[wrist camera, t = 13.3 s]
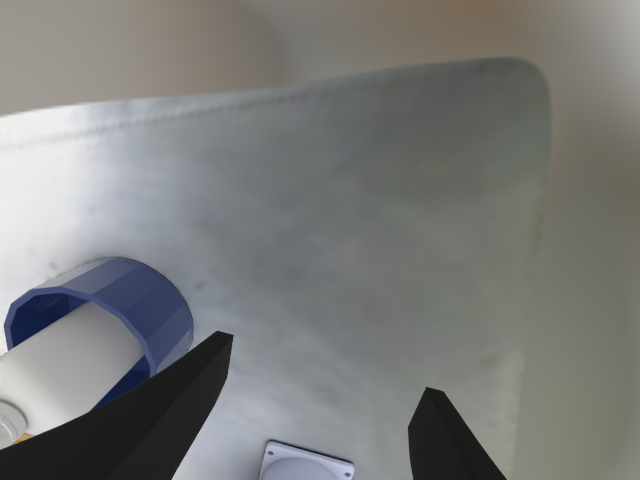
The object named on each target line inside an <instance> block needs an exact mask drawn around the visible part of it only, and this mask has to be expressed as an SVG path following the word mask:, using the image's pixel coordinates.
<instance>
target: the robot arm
mask: <svg viewBox="0 0 640 480" xmlns="http://www.w3.org/2000/svg"><path fill="white" fill-rule="evenodd" d="M232 342H233V335H231V334H228V333H224V332H220V331H216V332H215V333H213V334H212V335H211V336H209V337H208V338H207V339H205V340H204V341H203V342H201V343H200V344H199V345H197V346H196V347H195V348H193V349H192V350H191V351H189V352H188V353H187V354H185V355H184V356H182V357H181V358H179V359H178V360H177V361H175V362H174V363H172V364H171V365H169V366H168V367H166V368H165V369H163V370H162V371H160V372H159V373H157V374H156V375H154V376H152V377H151V378H149V379H148V380H146V381H144V382H143V383H141V384H140V385H138V386H136V387H134V388H133V389H131V390H129V391H128V392H126V393H124V394H122V395H120V396H119V397H117V398H115V399H113V400H111V401H109V402H107V403H106V404H104V405H102V406H100V407H98V408H96V409H93V410H91V411H89V412H87V413H85V414H83V415H81V416H79V417H77V418H75V419H73V420H71V421H69V422H66V423H64V424H62V425H60V426H57V427H55V428H53V429H50V430H48V431H45V432H43V433H41V434H38V435H36V436H34V437H31V438H29V439H26V440H24V441H21V442H19V443H16V444H14V445H11V446H8V447H6V448H3V449H1V450H0V480H171V479H172V478H173V476H174V474H175V472H176V470H177V468H178V467H179V465H180V463H181V462H182V460H183V458H184V457H185V455H186V453H187V451H188V450H189V448H190V446H191V445H192V443H193V441H194V440H195V438H196V436H197V434H198V433H199V431H200V429H201V428H202V426H203V424H204V423H205V421H206V419H207V417H208V416H209V414H210V412H211V410H212V409H213V407H214V405H215V403H216V401H217V399H218V397H219V395H220V392H221V390H222V388H223V386H224V383H225V381H226V379H227V375H228V368H229V362H230V355H231V349H232ZM408 437H409V453H410V462H411V468H412V474H413V480H507V479H506V478H505V477H504V475H503V474H502V473H501V471H500V470H499V469H498V468H497V466H496V465H495V464H494V462H493V461H492V460H491V458H490V457H489V456H488V454H487V453H486V451H485V450H484V449H483V447H482V446H481V445H480V443H479V442H478V440H477V439H476V438H475V436H474V435H473V433H472V432H471V430H470V429H469V428H468V426H467V425H466V423H465V422H464V420H463V419H462V417H461V416H460V415H459V413H458V412H457V410H456V409H455V407H454V406H453V404H452V403H451V401H450V400H449V399H448V397H447V396H446V394H445V393H444V392H443V391H440V390H436V389H432V388H429V387H426V389H425V391H424V393H423V395H422V398H421V400H420V402H419V404H418V406H417V408H416V411H415V413H414V415H413V417H412V419H411V422H410V424H409V426H408ZM353 474H354V465H353V464H351V463H348V462H344V461H341V460H337V459H334V458H330V457H326V456H323V455H319V454H316V453H312V452H309V451H305V450H301V449H298V448H294V447H291V446H287V445H284V444H280V443H276V442H272V441H271V442H268V443H267V446H266V450H265V454H264V458H263V462H262V467H261V471H260V475H259V479H258V480H351V479H352V477H353Z"/></svg>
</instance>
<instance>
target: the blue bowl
mask: <svg viewBox="0 0 640 480" xmlns="http://www.w3.org/2000/svg"><path fill="white" fill-rule="evenodd" d="M89 300H90V301H92V302H94V303H95V304H97V305H98V306H100V307H102V308H103V309H105V310H106V311H108V312H109V313H111V314H113V315H114V316H116V317H117V318H119V319H120V320H121V321H122V322H123V324H124V325H125V326H126V327H127V328H128V329H129V330H130V331H131V333H132V334H133V335H134V336H135V337H136V338H137V339H138V340H139V342H140V344H141V346H142V348H143V351H144V353H145V354H144V355H143V357H142V358H141V359H140V360H139V361H138V362H137V363H136V364H135V365H134V366H133V367H132V368H131V369H130V370H129V371H128V372H127V373H126V374H125V375H124V376H123V377H122V378H121V379H120V380H119V381H118V382H117V383H116V385H115V386H114V387H113V388H112V389H111V390H110V391H109V392H108V393H107V394H106V395H105V396H104V397H103V398H102V399H101V400H100V401H99V402H98V403H97V404H96V405H95V406H94V407H93V408H92V409H91V410H93V409H96V408H98V407H100V406H102V405H104V404H106V403H107V402H109V401H111V400H113V399H115V398H117V397H119V396H120V395H122V394H124V393H126V392H128V391H129V390H131V389H133V388H134V387H136V386H138V385H140V384H141V383H143V382H144V381H146V380H148V379H149V378H151V377H152V376H154V375H156V374H157V373H159V372H160V371H162V370H163V369H165V368H166V367H168V366H169V365H171V364H172V363H174V362H175V361H177V360H178V359H179V358H181V357H182V356H184V355H185V354H186V353H187V351H188V350H189V348H190V345H191V342H192V338H193V322H192V317H191V314H190V311H189V309H188V306H187V304H186V302H185V300H184V299H183V297H182V296H181V294H180V293H179V291H178V290H177V289H176V288H175V287H174V286H173V284H172V283H171V282H170V281H168V280H167V279H166V278H165V277H164V276H163V275H161V274H160V273H158V272H157V271H155V270H154V269H152V268H150V267H149V266H146V265H144V264H142V263H140V262H137V261H134V260H130V259H125V258H116V257H111V258H102V259H97V260H95V261H92V262H87V263H85V264H83V265H81V266H79V267H77V268H74V269H72V270H70V271H68V272H66V273H64V274H62V275H60V276H58V277H56V278H54V279H51V280H49V281H47V282H45V283H43V284H41V285H39V286H37V287H35V288H33V289H30V290H29V291H28V292H26V293H25V294H24V295H22V296H21V297H19V298H18V299H17V300H15V301H14V302H13V303H12V304H11V305H10V308H9V311H8V314H7V317H6V320H5V323H4V331H5V337H6V342H7V348H8V351H10V350H11V349H13V348H14V347H16V346H17V345H19V344H20V343H22V342H24V341H25V340H27V339H28V338H30V337H32V336H33V335H35V334H36V333H38V332H40V331H41V330H43V329H44V328H46V327H48V326H49V325H51V324H52V323H54V322H56V321H57V320H59V319H60V318H62V317H64V316H65V315H67V314H68V313H70V312H72V311H73V310H75V309H76V308H78V307H80V306H81V305H83V304H84V303H86V302H88V301H89ZM91 410H90V411H91Z"/></svg>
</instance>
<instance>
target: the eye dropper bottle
mask: <svg viewBox="0 0 640 480" xmlns="http://www.w3.org/2000/svg"><path fill="white" fill-rule="evenodd" d="M144 354H145V353H144V351H143V348H142V346H141V344H140V342H139V340H138V339H137V338H136V337H135V336H134V335H133V334H132V333H131V331H130V330H129V329H128V328H127V327H126V326H125V325H124V324H123V322H122V321H121V320H120V319H119V318H117V317H116V316H114V315H113V314H111V313H109V312H108V311H106V310H105V309H103V308H102V307H100V306H98V305H97V304H95V303H94V302H92V301H90V300H89V301H88V302H86V303H84V304H83V305H81V306H80V307H78V308H76V309H75V310H73V311H72V312H70V313H68V314H67V315H65V316H64V317H62V318H60V319H59V320H57V321H56V322H54V323H52V324H51V325H49V326H48V327H46V328H44V329H43V330H41V331H40V332H38V333H36V334H35V335H33V336H32V337H30V338H28V339H27V340H25V341H24V342H22V343H20V344H19V345H17V346H16V347H14V348H13V349H11V350H10V351H8V352H6V353H5V354H3V355H2V356H0V450H1V449H3V448H6V447H8V446H11V445H12V444H13V443H14V442H15V441H16V440H17V439H18V438H20V437H21V436H22V435H23V434H24V433H28V434H31V435H35V436H36V435H38V434H41V433H43V432H45V431H48V430H50V429H53V428H55V427H57V426H60V425H62V424H64V423H66V422H69V421H71V420H73V419H75V418H77V417H79V416H81V415H83V414H85V413H87V412H89V411H90V410H91V409H92V408H93V407H94V406H95V405H96V404H97V403H98V402H99V401H100V400H101V399H102V398H103V397H104V396H105V395H106V394H107V393H108V392H109V391H110V390H111V389H112V388H113V387H114V386H115V385H116V383H117V382H118V381H119V380H120V379H121V378H122V377H123V376H124V375H125V374H126V373H127V372H128V371H129V370H130V369H131V368H132V367H133V366H134V365H135V364H136V363H137V362H138V361H139V360H140V359H141V358H142V357H143V355H144Z"/></svg>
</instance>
